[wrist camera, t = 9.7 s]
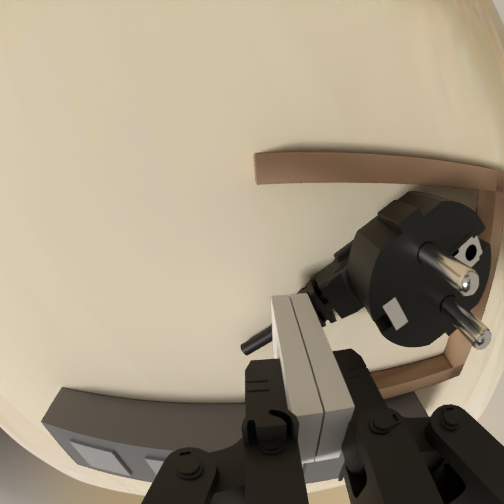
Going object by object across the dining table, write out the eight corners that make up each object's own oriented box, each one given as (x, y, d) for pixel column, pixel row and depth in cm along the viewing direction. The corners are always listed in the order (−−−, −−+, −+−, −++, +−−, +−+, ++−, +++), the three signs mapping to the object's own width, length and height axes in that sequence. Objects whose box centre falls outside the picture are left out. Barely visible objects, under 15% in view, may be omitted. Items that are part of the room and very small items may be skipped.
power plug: (276, 371, 16) (447, 252, 13) (276, 483, 8) (539, 317, 6) (211, 304, 14) (404, 163, 12) (169, 417, 7) (518, 177, 4)
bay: (253, 153, 12) (255, 153, 10) (490, 168, 12) (507, 172, 10) (265, 399, 16) (266, 417, 15) (449, 363, 16) (459, 375, 15)
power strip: (61, 387, 16) (38, 426, 12) (406, 378, 16) (432, 422, 12) (90, 432, 18) (75, 468, 14) (385, 426, 18) (403, 465, 14)
